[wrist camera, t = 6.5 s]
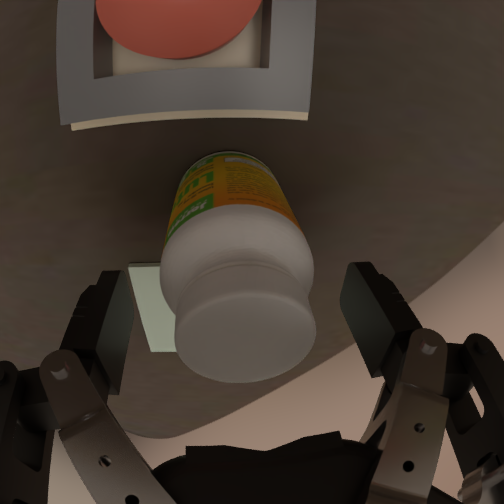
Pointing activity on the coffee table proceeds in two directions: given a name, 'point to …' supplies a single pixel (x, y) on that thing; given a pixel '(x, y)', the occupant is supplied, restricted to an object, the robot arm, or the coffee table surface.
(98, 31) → the dome console
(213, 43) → the dome button
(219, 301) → the supplement bottle
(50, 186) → the coffee table surface
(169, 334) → the mat
